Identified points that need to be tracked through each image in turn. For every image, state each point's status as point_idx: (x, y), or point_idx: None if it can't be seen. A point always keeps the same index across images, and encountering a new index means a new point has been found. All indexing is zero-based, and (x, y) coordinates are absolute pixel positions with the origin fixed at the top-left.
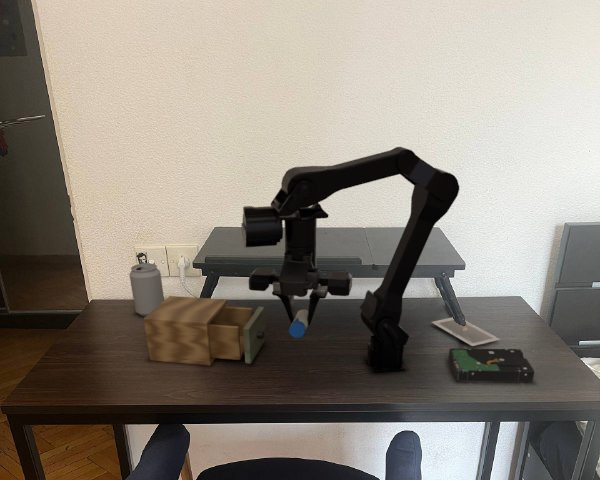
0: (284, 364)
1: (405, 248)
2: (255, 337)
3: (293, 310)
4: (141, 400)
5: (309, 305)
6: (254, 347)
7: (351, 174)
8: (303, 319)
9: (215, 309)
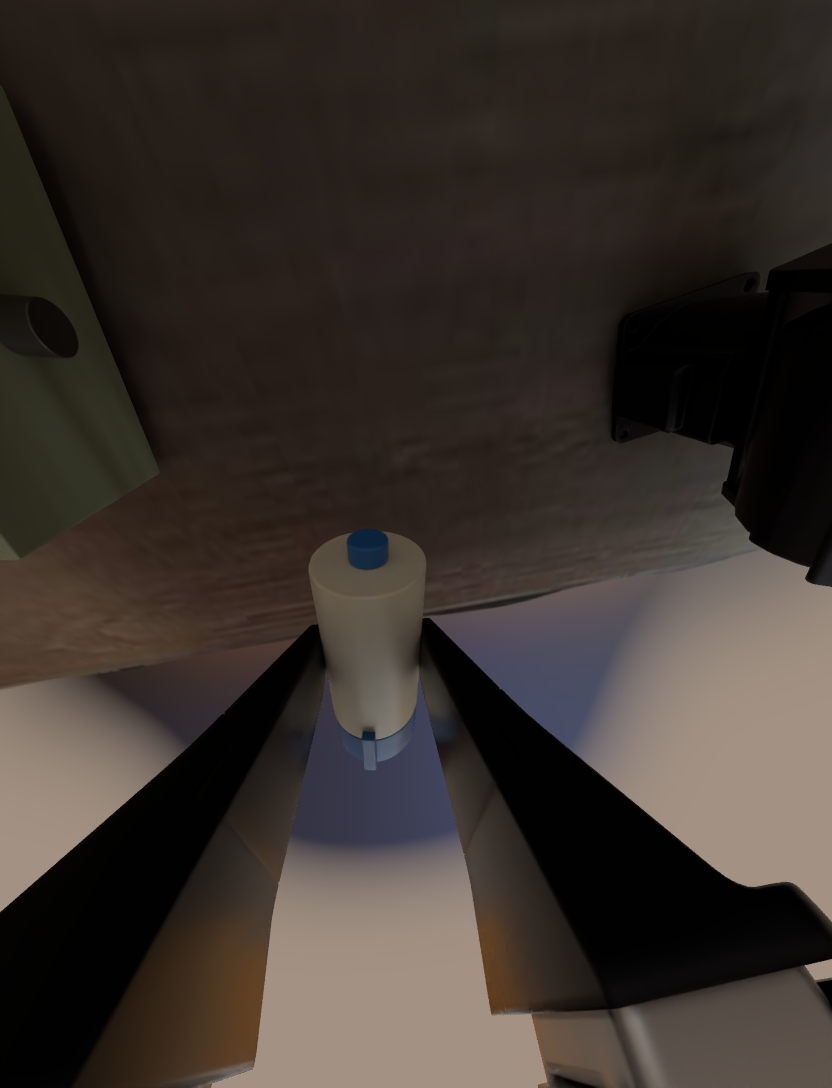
0: (285, 417)
1: None
2: (42, 390)
3: (305, 708)
4: (16, 672)
5: (458, 819)
6: (98, 413)
7: None
8: (400, 708)
9: None
